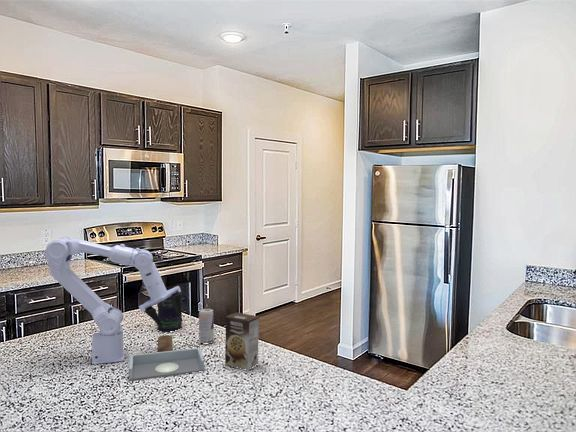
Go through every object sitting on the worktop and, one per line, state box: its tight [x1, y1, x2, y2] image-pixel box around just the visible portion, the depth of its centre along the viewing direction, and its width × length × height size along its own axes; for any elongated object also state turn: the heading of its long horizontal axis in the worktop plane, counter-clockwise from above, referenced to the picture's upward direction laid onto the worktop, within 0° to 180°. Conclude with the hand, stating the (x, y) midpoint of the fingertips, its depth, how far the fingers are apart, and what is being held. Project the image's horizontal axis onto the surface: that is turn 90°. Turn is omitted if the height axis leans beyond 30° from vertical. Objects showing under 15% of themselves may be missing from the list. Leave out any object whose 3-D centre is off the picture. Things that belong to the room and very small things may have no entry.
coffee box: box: [224, 312, 260, 371], centre depth 133 cm, size 9×6×16 cm
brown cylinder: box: [157, 334, 173, 352], centre depth 141 cm, size 5×5×6 cm
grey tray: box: [128, 347, 205, 382], centre depth 130 cm, size 22×11×4 cm, turn 109°
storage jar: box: [156, 289, 183, 333], centre depth 168 cm, size 10×10×15 cm
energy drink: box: [198, 308, 215, 344], centre depth 153 cm, size 5×5×12 cm
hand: (170, 320), depth 141 cm, fingers open, 7 cm apart
